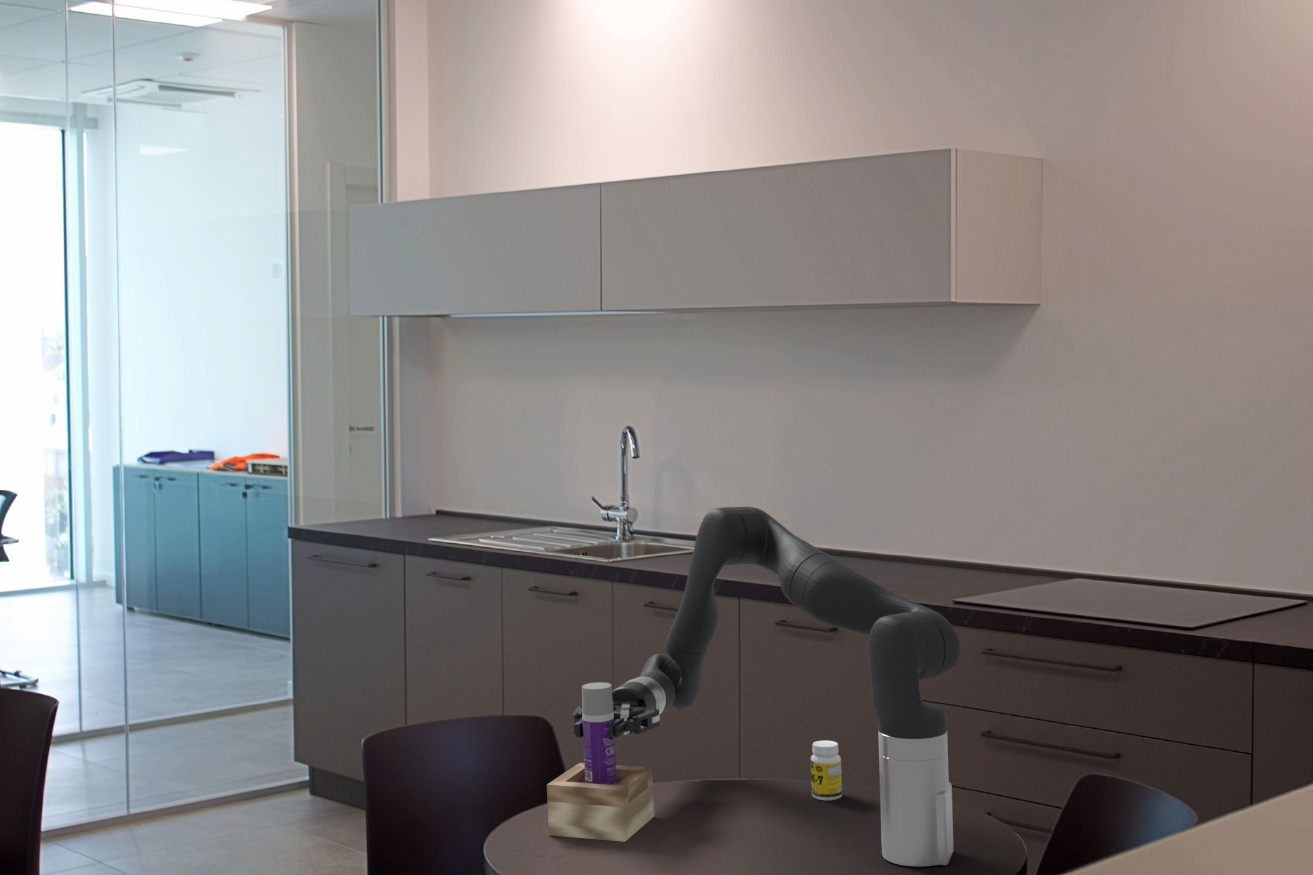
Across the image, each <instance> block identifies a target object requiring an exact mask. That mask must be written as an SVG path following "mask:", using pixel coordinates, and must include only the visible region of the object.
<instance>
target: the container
mask: <svg viewBox="0 0 1313 875" xmlns="http://www.w3.org/2000/svg"><path fill="white" fill-rule="evenodd" d="M612 691H613V687H612V684H611V683H609V682H601V681H599V682H590V683H589V682H588V683H585V684H583V685H582V686H581V705H582V722H583V737H582V739H583V761H584V762H583V763H584V766H585V783H591V784H605V785H616V784H617V780H616V765H617V763H616V762H617V760H616V739H614V740H613V739H609V737H608V726H609V724H611V723H612V722H614V713H613V698H612Z"/></svg>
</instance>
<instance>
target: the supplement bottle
mask: <svg viewBox="0 0 1313 875" xmlns="http://www.w3.org/2000/svg"><path fill="white" fill-rule="evenodd" d="M811 751H812V753H813V754H812V755H811V756H810V779H811V780H810V781H811V783H810V785H811V796H812V797H813V798H814V799H816V800H820V801H834V800H838V799H841V798H842V796H843V785H842V782H843V780H842V759H841V756H840V755H839V743H838V742H836V741H833V740H816V741H814V742H813V743H812V750H811Z"/></svg>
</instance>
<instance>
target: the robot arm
mask: <svg viewBox="0 0 1313 875" xmlns="http://www.w3.org/2000/svg"><path fill="white" fill-rule="evenodd" d="M692 551H693V552H692V556H691V560H690V564H689V569H688V575H687V578H686V584H685V587H684V588H685V589H684V593H683V596H682V598H681V599H682V600H681V602H680V606H679V608H678V610H677V613H676V616H675V618H674V620H673V622H672V624H671V627H670V629H669V632H668V634H667V637H666V638H665V644H664V648H665V651H666V653H667V654H666V653H665V654H664V653H656V654H653V655H652V656H650V657H649V658H648V659H647V660H646V662H645V664H644V665H643V667H642V669H641V672H640V675H639V676H637V677H636V678H632V679H629V680H628V681H626V682H625V683H622V684H621V685H619V686H618V687H617V688H614V689H612V698H613V713H614V722H612V723H611V724H609V726H608V737H609V739H613V740H614V739H615V740H616V739H617V738H618V737H620V736H622V735H624V736H626V735H633V734H634V735H641V734H642V733H645V732H647V731H648V732H649V731H651V730H653V729H656V728H657V727H660V726H661V724H660V721H661V719H660V717H661V716H660V715H662V714H663V713H664V712H666V711H667V710H668V709H669V708H673V709H675V711H676V710H677V711H685V710H687V709H689V708H691V707H692V706H693V705H694V704H695V703H696V701H697V700H698V698H699V695H700V693H701V689H702V684H703V673H704V662H705V657H706V655H707V652H708V649H709V647H710V645H711V643H712V640H713V639H714V636H715V634H716V631H717V628H718V623H719V608H718V603H717V598H716V594H715V584H716V579H717V578H718V576H719V574H720V572H721V571H722V569H723V567H724V566H736V565H737V566H738V565H756V566H760V567H763V568H765V569H767V570H769V571H770V572H772V573H774V574H776V575H777V576H778V579H779V584H780V587H781V591H782V593H783V595H784V597H785V598H786V599H787V600H788V601H789V603H791V604H792V605H793V606H795V607H796V608H797V609H799V610H801V611H802V612H804V613H805V614H806V615H808V616H809V617H811V618H813V619H815V620H816V621H818V622H820V623H822V624H825V625H828V626H831V627H834V628H838V629H841V630H846V631H850V632H854V633H859V634H863V635H867V636H868V643H867V647H868V648H867V657H868V668H869V680H870V692H871V704H872V707H873V711H874V713H875V716H876V720H877V731H878V732H877V733H878V734H877V736H878V762H879V763H878V764H879V768H878V769H879V800H880V801H879V802H880V806H879V807H880V831H881V832H880V833H881V834H880V836H881V837H880V839H881V840H880V841H881V855H882V857H883V858H884V860H886V861H888V862H890V863H892V864H896V865H899V866H906V867H916V868H917V867H931V866H939V865H940V866H947V865H948V864H949V862H950V860H951V857H952V856H953V852H954V828H953V827H954V824H953V823H954V821H953V792H952V791H953V788H952V786H953V785H952V783H951V782H950V780H949V752H948V751H949V749H948V718H947V712H946V711H945V710H944V708H942V707H941V706H939V705H936V704H933V703H929V702H925V701H924V700H923V698H922V695H921V686H920V681H922V680H928V679H933V678H937V677H939V676H942V675H945V674H946V673H948V672H950V671H951V670H952V669H953V668H954V667H955V666H956V665H957V663H958V661H959V660H960V656H961V643H960V640H959V636H958V634H957V631H956V630H955V628H954V627H953V625H952V623H950V621H949V620H948V619H947V618H946V617H945V616H944V615H942V614H941V613H939V612H937V611H935V609H934V610H933V609H932V608H929V607H927V606H924V605H922V604H920V603H917V602H915V601H912V600H910V599H909V598H905V597H903V596H901V595H899V594H896V593H894V591H893V592H892V591H890V590H889V589H887V588H886V587H883V586H882V585H881V584H878V583H877V582H875V581H874V580H872V579H870V578H869V577H866V576H865V575H863V574H862V573H859V572H858V571H856V570H855V569H854V568H852V567H850V566H848V564H846V563H844V562H842V561H841V560H839V559H837V558H835V557H834V556H833V555H830V554H829V553H827V552H825V551H823V550H821V549H819V548H817V547H815V546H814V545H813V544H811V543H809V542H807V541H806V540H804V539H802V538H800V537H798V536H797V535H795V534H794V533H793V532H791V531H790V530H789V529H787V528H786V527H785V526H783V524H781V523H780V522H779V521H778V520H776V519H775V518H774V517H772V516H771V515H770V514H769V513H767V512H765V511H764V510H762V509H760V508H758V507H754V506H753V507H752V506H723V507H721V506H720V507H717V508H712V509H711V510H709V511H708V512H707V513H706V514H705V515H704V517H703V519H702V521H701V523H700V526H699V528H698V532H697V535H696V538H695V543H694V547H693V550H692ZM572 717H573V719H572V720H573V721H572V722H573V734H574V735H575V737H576V738H579V739H581V738H583V722H582V704H579V705H578V706H576V708H575V710H574V712H573V714H572Z"/></svg>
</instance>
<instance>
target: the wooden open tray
mask: <svg viewBox="0 0 1313 875" xmlns="http://www.w3.org/2000/svg"><path fill="white" fill-rule="evenodd" d="M653 776H654V775H653V767H649V766H637V765H636V766H633V765H620V764H619V765H618V764H616V780H617V784H616V785H605V784H591V783H585V766H584V762H579V763H577V764H575V765H574V766H572V767H571V768H570V769H568V770H566V771H565V772H563V773H562V774H560V775H559V776H558V777H556V778H554V779H553V780H551V781H550V782H549V783H547V784H546V793H547V795H546V796H547V797H546V798H547V799H546V800H547V801H546V802H547V820H548V822H547V823H548V824H547V825H548V826H547V827H548V836H551V837H552V836H554V837H564V838H566V837H567V838H575V839H577V838H578V839H589V840H590V839H591V840H601V841H610V842H611V841H613V842H623V843H625V842H627V841H628V840H629V839H630V838H631V837H633V836H634V834H636V833H637V832H638V831H639V830H640V829H642V828H643V827H644V826H645V825H646V824H647V823H648V822H650V821H651V820H652V819H653V818H654V817H655V809H654V807H655V806H654V804H655V803H654V784H653V781H654V780H653Z"/></svg>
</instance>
